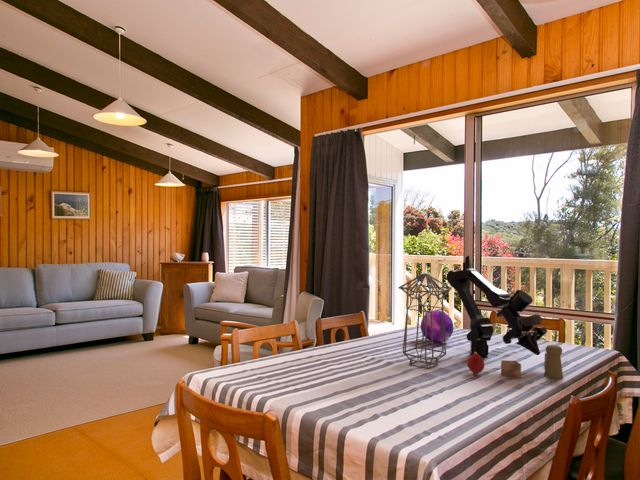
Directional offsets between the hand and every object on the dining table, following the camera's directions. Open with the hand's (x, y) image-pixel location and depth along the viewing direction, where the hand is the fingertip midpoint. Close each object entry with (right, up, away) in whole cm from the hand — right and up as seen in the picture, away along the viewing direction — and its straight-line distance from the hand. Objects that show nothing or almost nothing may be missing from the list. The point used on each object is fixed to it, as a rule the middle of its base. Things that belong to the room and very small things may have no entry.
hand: (538, 354), depth 170 cm
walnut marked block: (-13, -6, -6) cm, 15 cm away
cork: (+3, -7, -5) cm, 9 cm away
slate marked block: (+10, -7, +11) cm, 17 cm away
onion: (-25, -6, -4) cm, 26 cm away
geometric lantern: (-41, -6, +6) cm, 42 cm away
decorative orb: (-25, -7, +50) cm, 56 cm away
